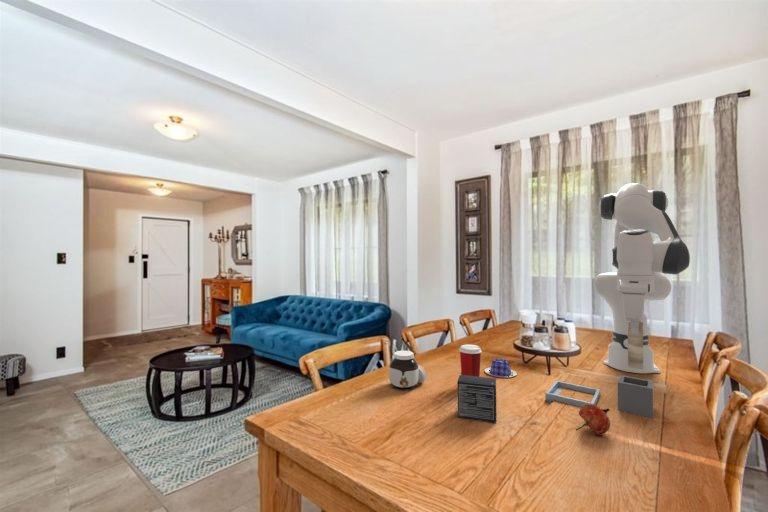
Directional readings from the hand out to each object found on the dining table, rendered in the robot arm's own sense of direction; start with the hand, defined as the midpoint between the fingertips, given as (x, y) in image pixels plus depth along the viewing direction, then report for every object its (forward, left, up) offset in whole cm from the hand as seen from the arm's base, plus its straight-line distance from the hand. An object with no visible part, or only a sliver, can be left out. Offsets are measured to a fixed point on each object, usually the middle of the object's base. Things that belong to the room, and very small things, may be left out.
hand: (635, 332), depth 99 cm
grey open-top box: (0, 0, -23) cm, 23 cm away
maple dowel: (0, 0, -10) cm, 10 cm away
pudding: (-9, -43, -24) cm, 50 cm away
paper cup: (+12, -46, -24) cm, 53 cm away
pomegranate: (+21, -8, -24) cm, 33 cm away
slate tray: (+1, -16, -23) cm, 28 cm away
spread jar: (+24, -64, -24) cm, 72 cm away
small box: (+31, -35, -24) cm, 52 cm away
